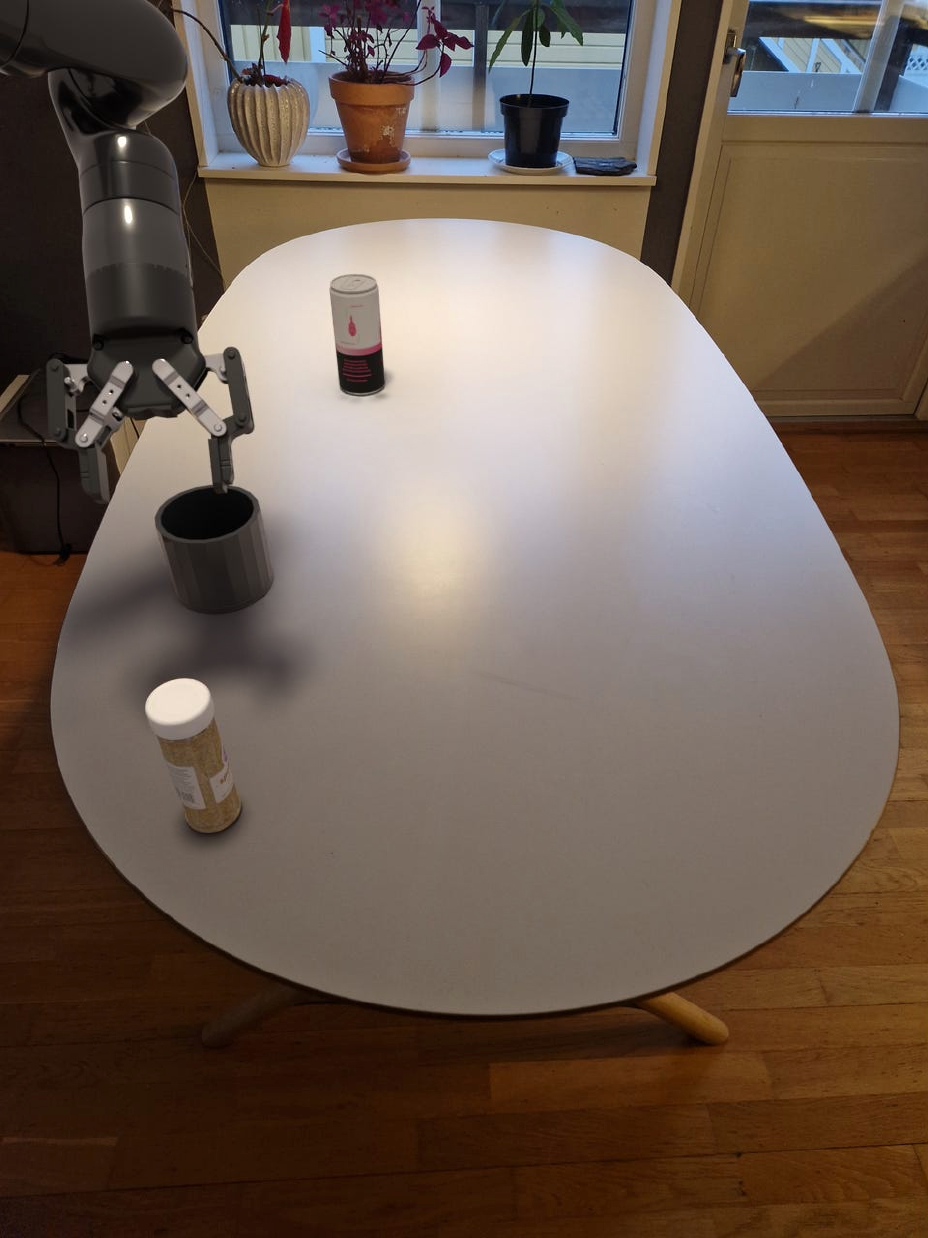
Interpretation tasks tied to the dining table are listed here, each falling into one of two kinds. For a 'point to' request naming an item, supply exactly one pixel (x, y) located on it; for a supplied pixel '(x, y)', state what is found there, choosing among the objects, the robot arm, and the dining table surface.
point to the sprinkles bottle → (194, 753)
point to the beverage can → (357, 333)
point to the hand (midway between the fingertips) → (161, 496)
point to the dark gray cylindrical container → (215, 548)
